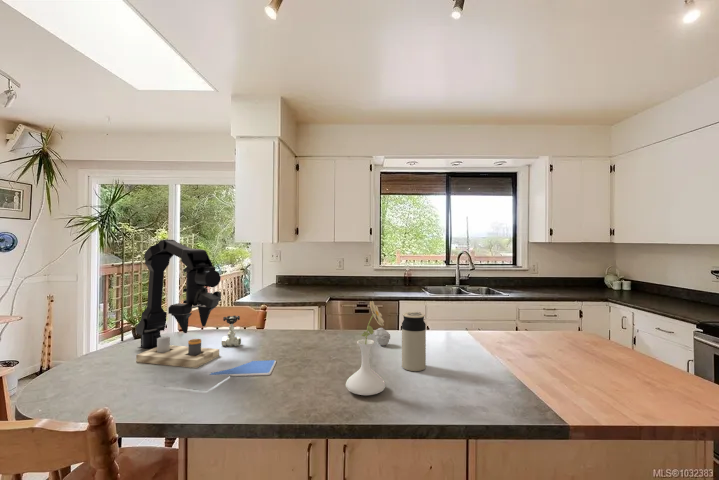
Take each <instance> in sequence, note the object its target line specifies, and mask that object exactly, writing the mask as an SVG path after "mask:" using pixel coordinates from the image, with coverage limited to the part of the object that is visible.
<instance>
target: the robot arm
mask: <svg viewBox="0 0 719 480" xmlns="http://www.w3.org/2000/svg"><path fill="white" fill-rule="evenodd" d="M174 256H176V257H177V258H179V259H180V262H181V264H183V265H185V266H186V267H185V268H184V269H183V271H182V272H184V273H185V274H186V276H185V277H186V280H185V281H186V283H185V285H186V286H185V288H183V293H185V299H184V300H182V303H175V304H171V305H169V307H168V311H165V310H164V308H163V307H162V304H163V303H162V302H163V289H164V276H165V275H164V273H165V271H166V270H167V268H168V267H169V265H170V262H171V261H170V260H171V259H172V258H173V257H174ZM143 259H144V264H145V266H146V267H147V269H148V271H149V273H148V274H149V275H148V289H147V304H146V308H145V309H144V310H143V311H142V312H141V318H140V320H139V322H138V324H137V325H136V327H135V332H136V333H135V334H137V335H140V346H139V347H137V349H144V350H145V349H146V350H151V349H154V348H156V347H157V338H160V337H162V335H161V332H163V331H165V329H166V324H167V312H168V315H171V316H173V317H174V319H175V320H176V322H177V323H178V325H179V328H180V329H181V330H182V332H183V333H184V334H187V333H188V329H189V319H190V317H191V315H193V313H192V310H193V309H196V308H197V309H198V314H199V318H200V323H201V327H205V326H206V325H207V323H208V320H209V316H210V314H211V311H213V310H214V309H215V308H217V306H219V302H221V301H222V293H221V292H220V291H218V290H217V291H214V292H208V291H209V289H208V288H215V287H217V286H218V285H219V284H220V282H221V274H220V273H219V272H218V271H217V270H216V266H213V262H212V261H211V259H210V256H209V255H208V252H207V251H206V249H201V248H192V247H189V246H186V245H185V244H182V243H180V242H178V241H177V240H174V239H161V240H159V242H158V243H156V244H153V245H152V246H150V247H149V248H148V249H146V251H145V252H144V258H143Z"/></svg>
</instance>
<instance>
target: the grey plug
mask: <svg viewBox="0 0 719 480" xmlns="http://www.w3.org/2000/svg"><path fill="white" fill-rule="evenodd" d="M170 345H171V337H170V336H161V337H160V338H157V353H166V352H168V351H170Z"/></svg>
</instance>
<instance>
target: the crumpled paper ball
mask: <svg viewBox="0 0 719 480" xmlns="http://www.w3.org/2000/svg"><path fill="white" fill-rule="evenodd" d="M373 334H374V337H375V338H376V342H377V344H378V345H380V346H387V345H388V344H389V343H390V340H391V334H390V333H389V331H387V330H386V329H385V328H383V327H379V328H377V329H375V330H374V332H373Z"/></svg>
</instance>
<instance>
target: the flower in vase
mask: <svg viewBox="0 0 719 480" xmlns="http://www.w3.org/2000/svg"><path fill="white" fill-rule="evenodd" d="M369 307H370V310H371V313H372V315H371V316H370V319H369V320H368V324H367V326H366V327H367V328H366V331H363V333H362V334H361V335H360V336H361V337H365V338H364V339H358V340H357V341H356V343H357V345H358V346H359V348H360V352H361V366H360V368H359V369H358V370H357V371H355V372H354V373H353V374H352V375H350V376H349V378H347V380H346V382H345V388H346V389H347V390H348V391H349V392H350V393H352V394H355V395H359V396H360V395H361V396H373V395H377V394H380V393H381V392H383V391H384V390H385V388H386V385H387V384H386V382H385V379H384V378H383V377H381V376H380V374H379V373H377V372H375V370H373V369H372V367H371V365H370V363H371V362H370V361H371V358H370V356H371V350H372V348H373V345H374V344H375V340H372V339H368V336H369V335H373V334H374V332H375V330H374V328H373V327H372V326H371V325H370V323H371V322H372V320H373V318H374V319H375V321H376V322H377V324H378V325H379V326H381V327H383V326H385V324H384V323H385V320H384V318H382V317H383V315H382V313H381V312H380V310H379V307H378V306H377V305H375V302H374V301H373V300H372V301H371V300H370V301H369Z"/></svg>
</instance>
